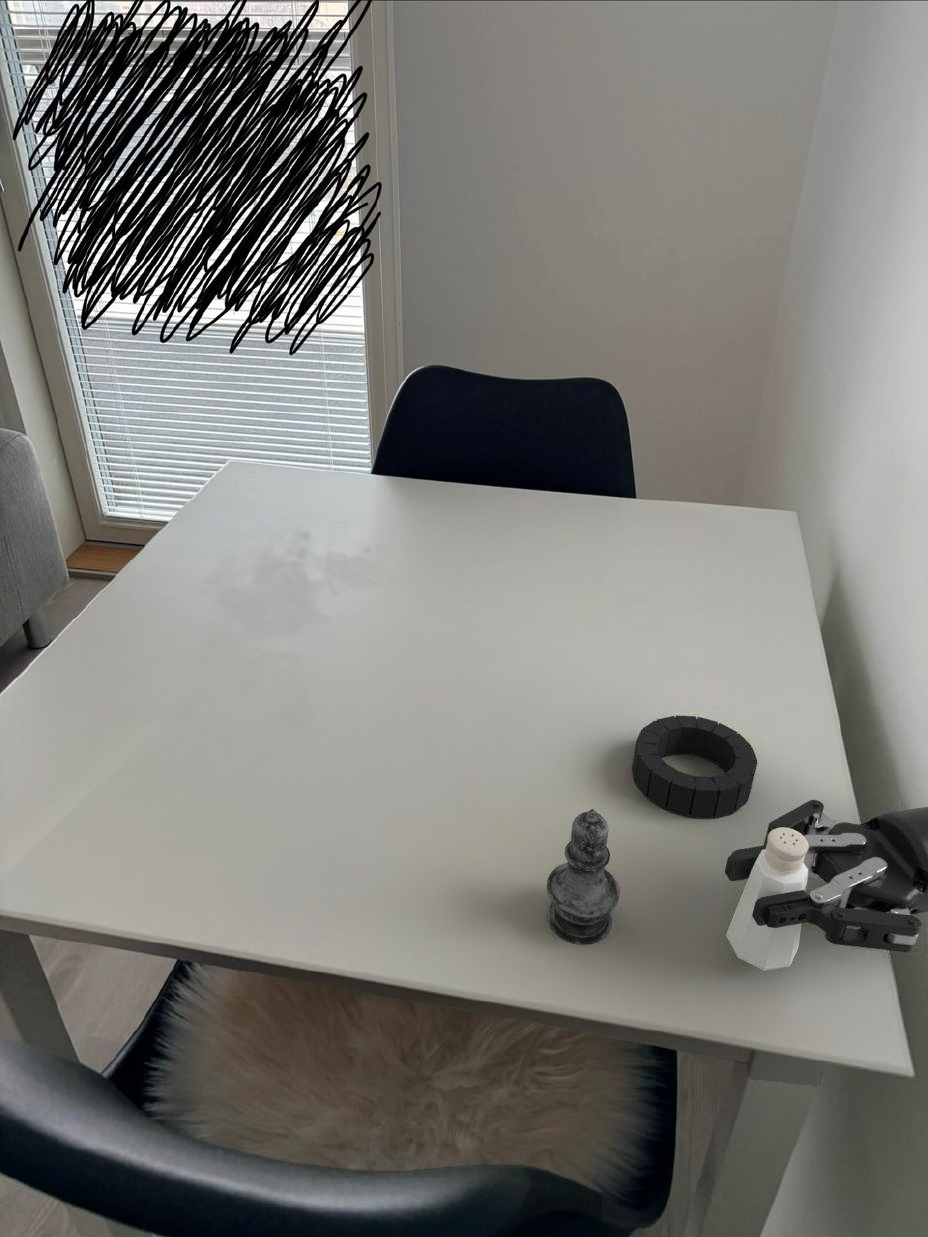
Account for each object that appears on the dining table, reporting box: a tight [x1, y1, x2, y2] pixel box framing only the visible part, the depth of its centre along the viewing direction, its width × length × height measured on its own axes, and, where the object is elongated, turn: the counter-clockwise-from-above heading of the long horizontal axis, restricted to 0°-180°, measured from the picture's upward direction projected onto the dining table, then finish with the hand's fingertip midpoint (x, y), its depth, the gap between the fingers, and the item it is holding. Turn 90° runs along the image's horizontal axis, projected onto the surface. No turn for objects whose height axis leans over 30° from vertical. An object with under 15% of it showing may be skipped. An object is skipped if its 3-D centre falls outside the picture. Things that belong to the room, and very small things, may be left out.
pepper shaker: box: [725, 827, 809, 971], centre depth 66 cm, size 5×5×11 cm
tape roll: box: [631, 715, 758, 820], centre depth 87 cm, size 12×12×4 cm
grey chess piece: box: [546, 808, 621, 945], centre depth 69 cm, size 6×6×12 cm
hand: (743, 890), depth 64 cm, fingers closed on pepper shaker, 3 cm apart
